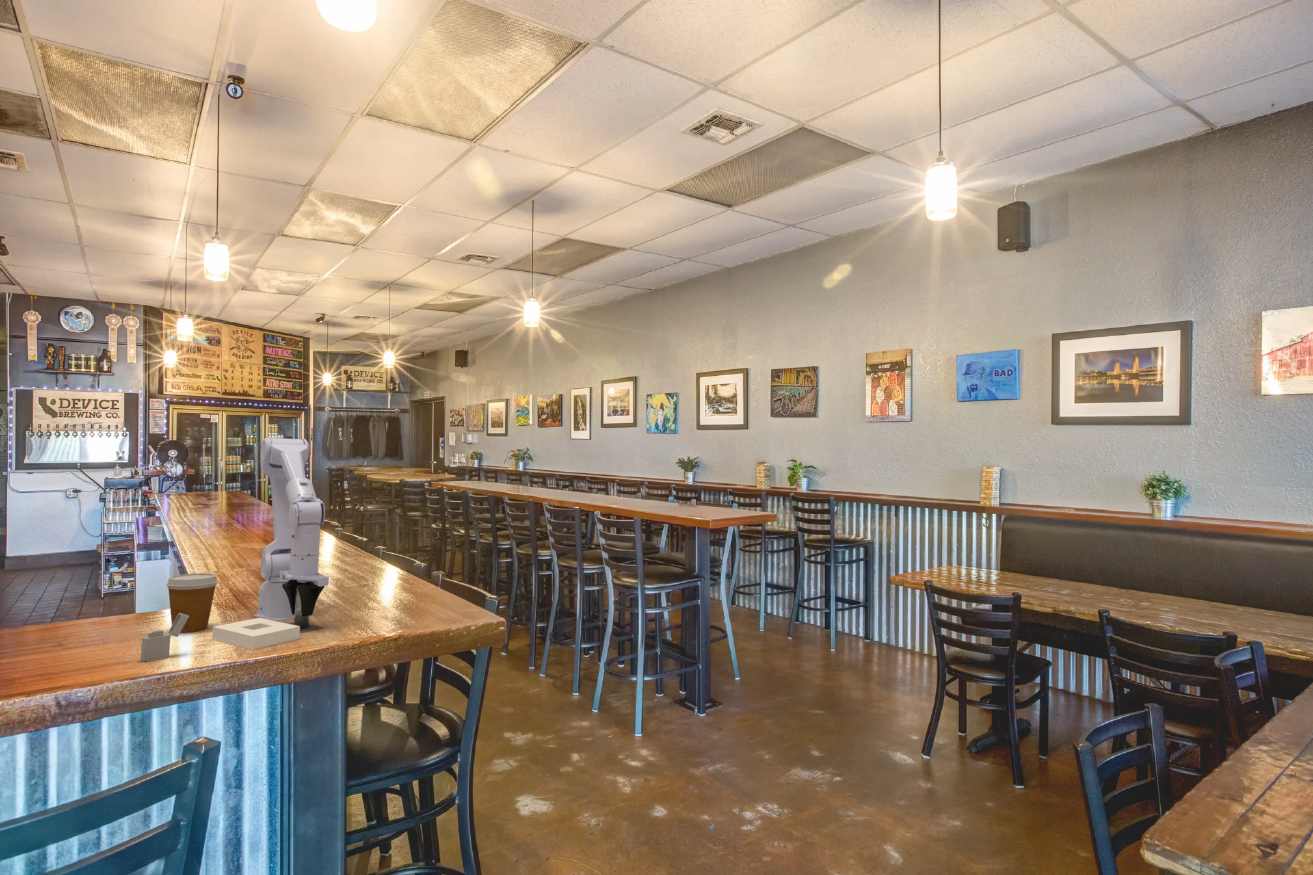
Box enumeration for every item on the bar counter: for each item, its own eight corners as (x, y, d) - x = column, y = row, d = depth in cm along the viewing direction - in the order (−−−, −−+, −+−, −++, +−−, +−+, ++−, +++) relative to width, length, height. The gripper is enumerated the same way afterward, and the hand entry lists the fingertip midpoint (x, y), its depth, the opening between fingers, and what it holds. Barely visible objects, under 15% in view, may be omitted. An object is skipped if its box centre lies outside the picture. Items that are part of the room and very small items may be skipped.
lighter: (143, 662, 126) (146, 619, 126) (140, 660, 127) (142, 617, 127) (187, 654, 132) (189, 613, 132) (183, 652, 133) (186, 611, 133)
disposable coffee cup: (225, 629, 150) (228, 575, 151) (180, 639, 142) (183, 581, 142) (198, 624, 154) (201, 571, 155) (153, 633, 146) (156, 577, 146)
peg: (290, 628, 152) (292, 587, 152) (303, 625, 154) (305, 586, 155) (299, 630, 150) (301, 589, 151) (311, 627, 153) (313, 587, 153)
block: (211, 641, 141) (212, 626, 141) (259, 631, 150) (259, 617, 150) (252, 651, 134) (253, 636, 134) (299, 640, 143) (299, 626, 143)
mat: (263, 630, 151) (263, 628, 151) (296, 623, 158) (296, 621, 158) (291, 636, 146) (291, 635, 146) (324, 629, 153) (324, 627, 153)
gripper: (268, 553, 153) (265, 613, 152) (309, 559, 146) (306, 622, 145) (297, 550, 159) (294, 608, 158) (338, 555, 152) (335, 616, 152)
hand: (302, 614), depth 152 cm, fingers closed on peg, 3 cm apart
